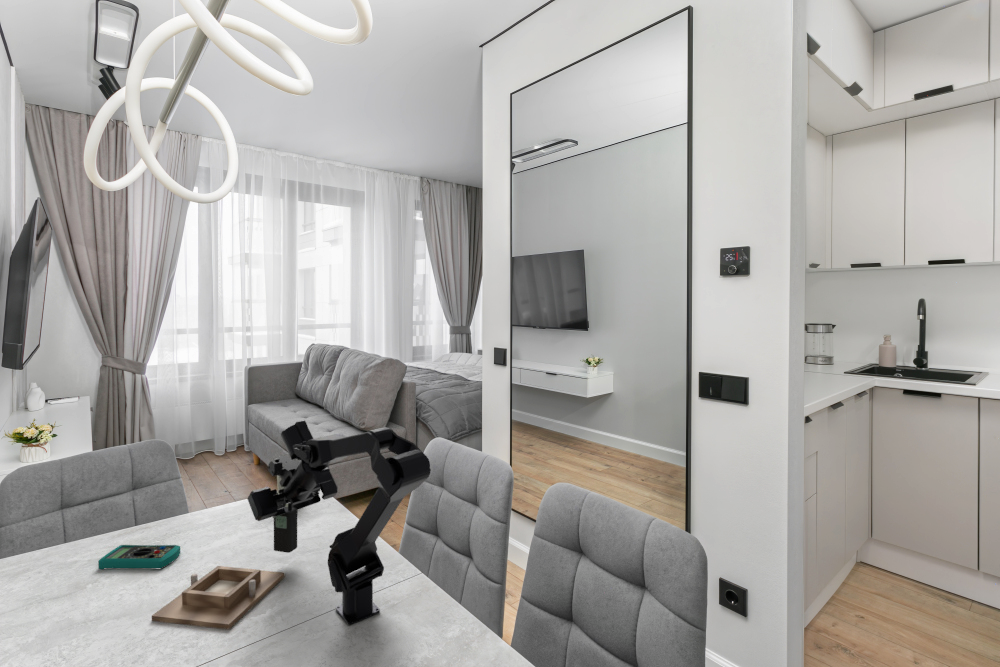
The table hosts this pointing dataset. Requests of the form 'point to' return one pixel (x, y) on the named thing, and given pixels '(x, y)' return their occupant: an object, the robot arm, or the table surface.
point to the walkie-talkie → (286, 530)
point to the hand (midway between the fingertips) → (282, 512)
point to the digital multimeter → (140, 556)
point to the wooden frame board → (219, 597)
